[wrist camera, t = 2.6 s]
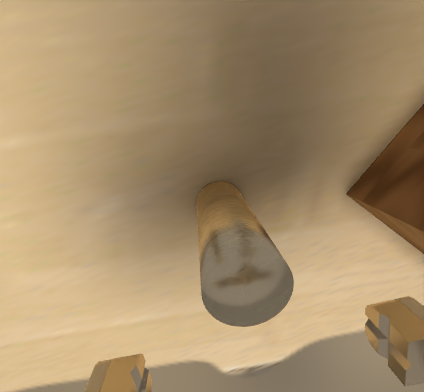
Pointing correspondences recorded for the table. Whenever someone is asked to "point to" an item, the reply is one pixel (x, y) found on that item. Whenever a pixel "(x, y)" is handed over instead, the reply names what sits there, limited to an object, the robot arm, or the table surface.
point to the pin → (238, 260)
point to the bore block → (398, 184)
